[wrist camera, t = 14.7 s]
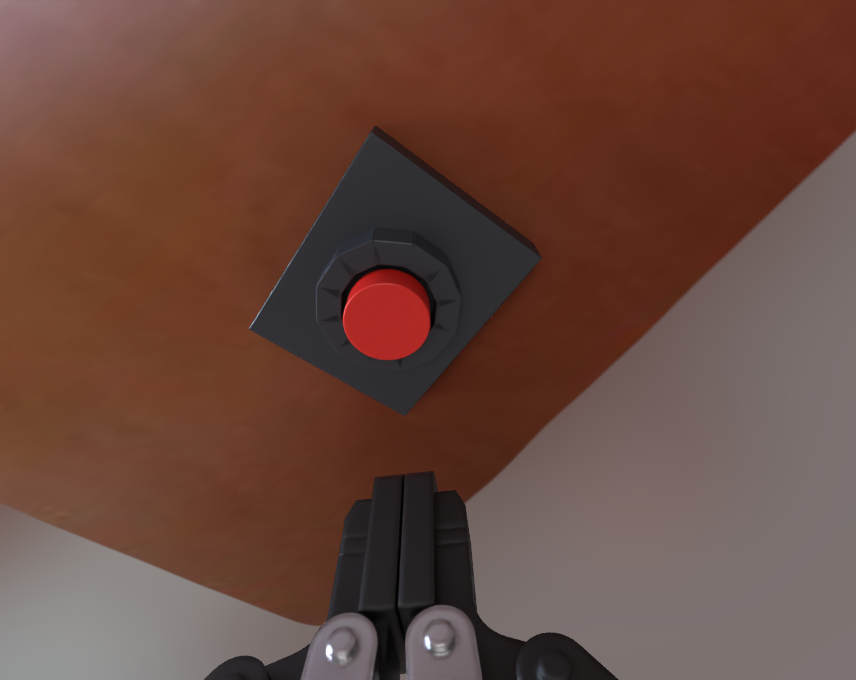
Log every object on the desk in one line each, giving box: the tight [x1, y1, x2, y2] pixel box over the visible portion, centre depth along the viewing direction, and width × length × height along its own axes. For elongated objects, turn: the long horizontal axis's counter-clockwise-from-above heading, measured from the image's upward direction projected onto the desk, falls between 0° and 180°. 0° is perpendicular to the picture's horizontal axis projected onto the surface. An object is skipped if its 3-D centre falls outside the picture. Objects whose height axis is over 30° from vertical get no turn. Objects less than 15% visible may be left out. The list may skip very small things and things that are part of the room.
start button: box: [343, 269, 430, 360], centre depth 24 cm, size 4×4×2 cm
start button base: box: [249, 126, 542, 416], centre depth 26 cm, size 12×10×4 cm
